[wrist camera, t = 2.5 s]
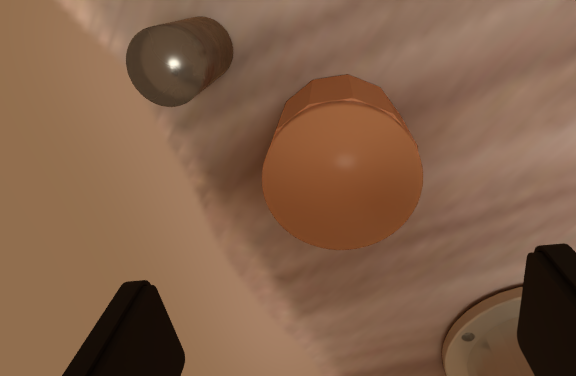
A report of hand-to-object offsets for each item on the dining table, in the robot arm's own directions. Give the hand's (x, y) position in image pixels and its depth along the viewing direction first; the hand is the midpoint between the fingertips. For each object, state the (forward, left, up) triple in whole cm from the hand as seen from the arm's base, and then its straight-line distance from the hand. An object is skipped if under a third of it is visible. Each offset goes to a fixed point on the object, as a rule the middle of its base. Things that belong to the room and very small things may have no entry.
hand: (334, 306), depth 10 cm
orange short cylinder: (0, 0, -14) cm, 14 cm away
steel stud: (+6, +6, -14) cm, 16 cm away
